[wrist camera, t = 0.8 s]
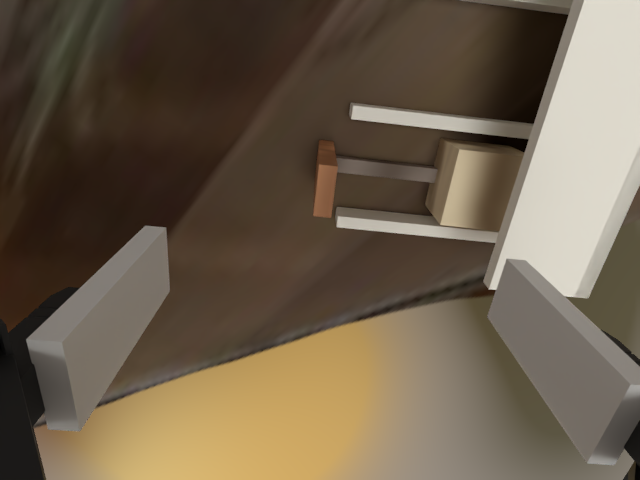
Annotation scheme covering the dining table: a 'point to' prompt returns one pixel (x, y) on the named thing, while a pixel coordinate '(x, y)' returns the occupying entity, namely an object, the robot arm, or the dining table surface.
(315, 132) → the dining table surface
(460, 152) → the birch block
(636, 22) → the lane rack
